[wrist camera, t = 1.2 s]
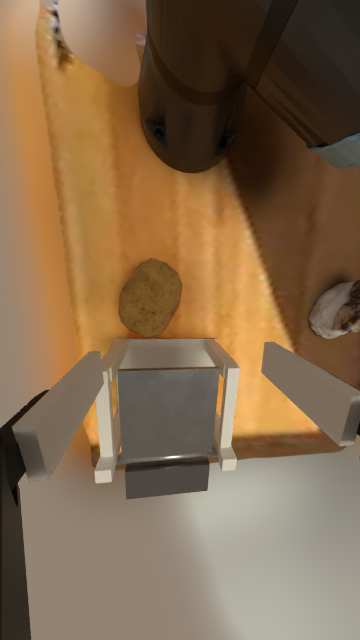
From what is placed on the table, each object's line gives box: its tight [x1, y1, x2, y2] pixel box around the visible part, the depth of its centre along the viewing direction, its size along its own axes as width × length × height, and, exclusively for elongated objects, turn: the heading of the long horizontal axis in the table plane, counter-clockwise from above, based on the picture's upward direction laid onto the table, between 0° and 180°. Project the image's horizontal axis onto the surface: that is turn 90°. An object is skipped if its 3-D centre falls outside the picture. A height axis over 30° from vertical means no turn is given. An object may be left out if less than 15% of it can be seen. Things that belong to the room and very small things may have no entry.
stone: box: [308, 280, 360, 339], centre depth 31 cm, size 14×10×15 cm
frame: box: [95, 338, 240, 483], centre depth 28 cm, size 18×20×14 cm
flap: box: [117, 366, 220, 499], centre depth 25 cm, size 20×14×4 cm
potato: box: [119, 258, 182, 338], centre depth 28 cm, size 9×13×7 cm
